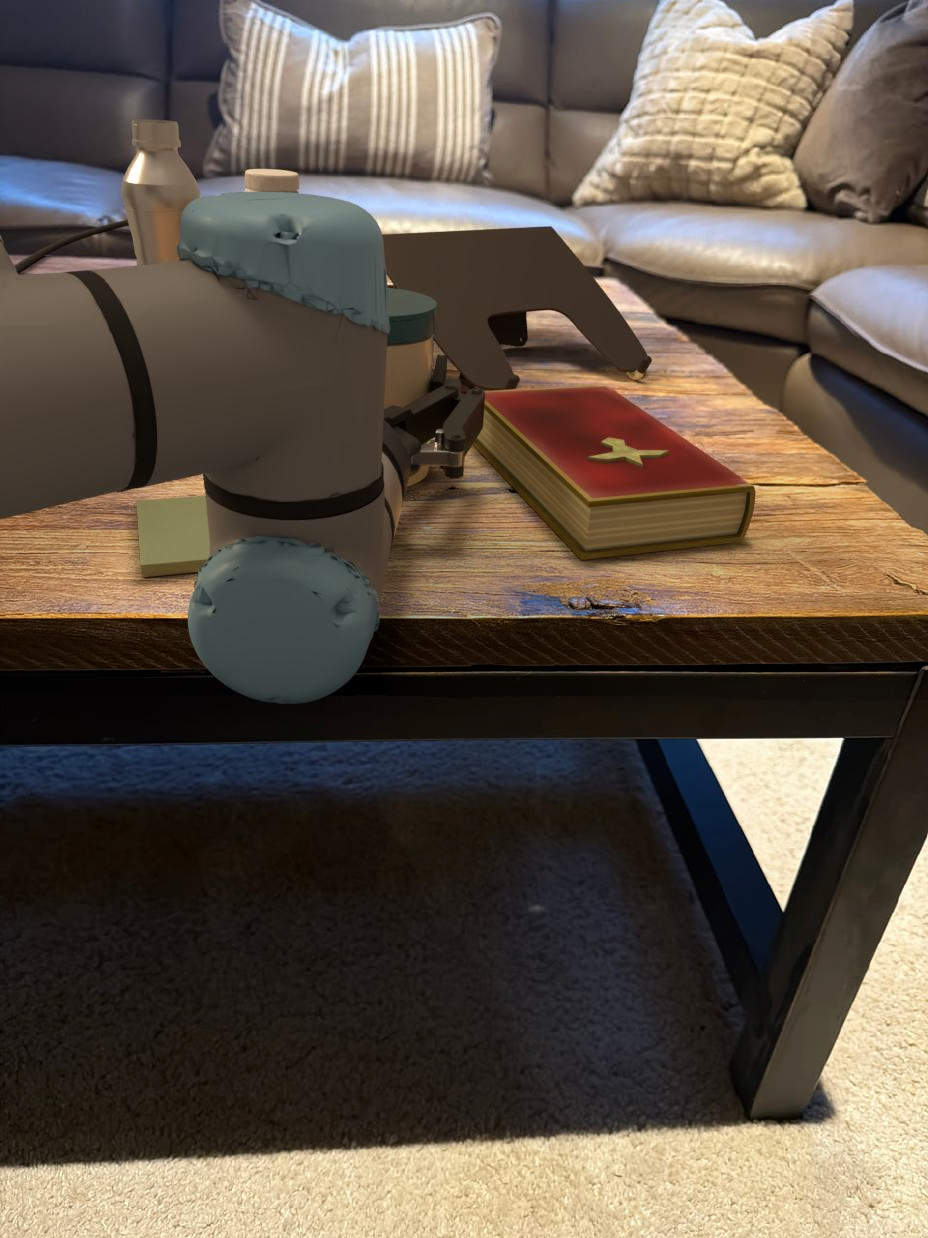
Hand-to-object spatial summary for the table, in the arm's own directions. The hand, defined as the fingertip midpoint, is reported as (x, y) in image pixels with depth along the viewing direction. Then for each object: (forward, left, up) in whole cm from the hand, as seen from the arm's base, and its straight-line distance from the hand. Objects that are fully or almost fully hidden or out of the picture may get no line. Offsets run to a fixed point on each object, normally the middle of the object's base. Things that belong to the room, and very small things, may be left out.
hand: (381, 369), depth 70 cm
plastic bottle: (-24, -14, -6) cm, 28 cm away
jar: (+4, -2, -6) cm, 8 cm away
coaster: (+13, -14, -6) cm, 20 cm away
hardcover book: (+10, +13, -6) cm, 18 cm away
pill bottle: (-37, -3, -6) cm, 37 cm away
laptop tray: (-20, +18, -6) cm, 28 cm away
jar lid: (+4, -2, +6) cm, 7 cm away
